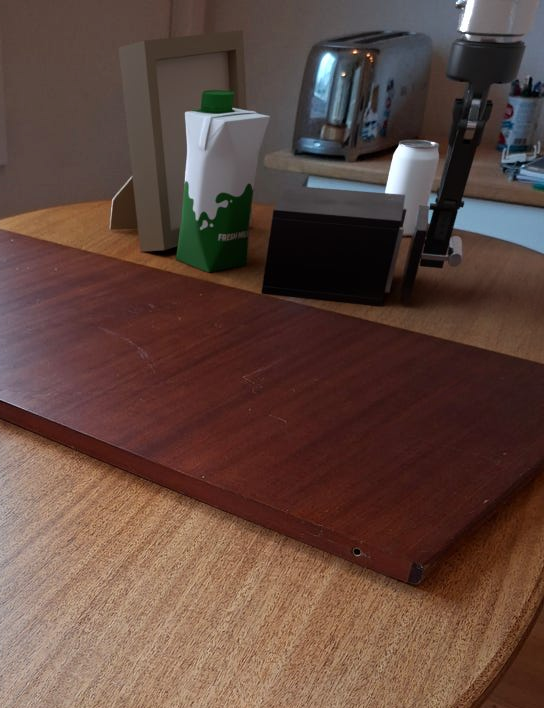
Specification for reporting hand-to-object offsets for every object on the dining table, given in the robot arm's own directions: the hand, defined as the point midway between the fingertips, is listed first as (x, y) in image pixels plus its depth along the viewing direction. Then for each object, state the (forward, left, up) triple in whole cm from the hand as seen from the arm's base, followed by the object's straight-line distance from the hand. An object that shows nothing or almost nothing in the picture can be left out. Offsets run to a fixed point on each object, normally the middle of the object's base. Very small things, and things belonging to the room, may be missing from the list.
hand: (431, 265), depth 110 cm
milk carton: (+28, -4, -4) cm, 29 cm away
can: (+4, -30, -4) cm, 31 cm away
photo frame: (+37, -17, -4) cm, 41 cm away
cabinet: (+12, 0, -4) cm, 13 cm away
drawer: (+6, 0, -3) cm, 7 cm away
